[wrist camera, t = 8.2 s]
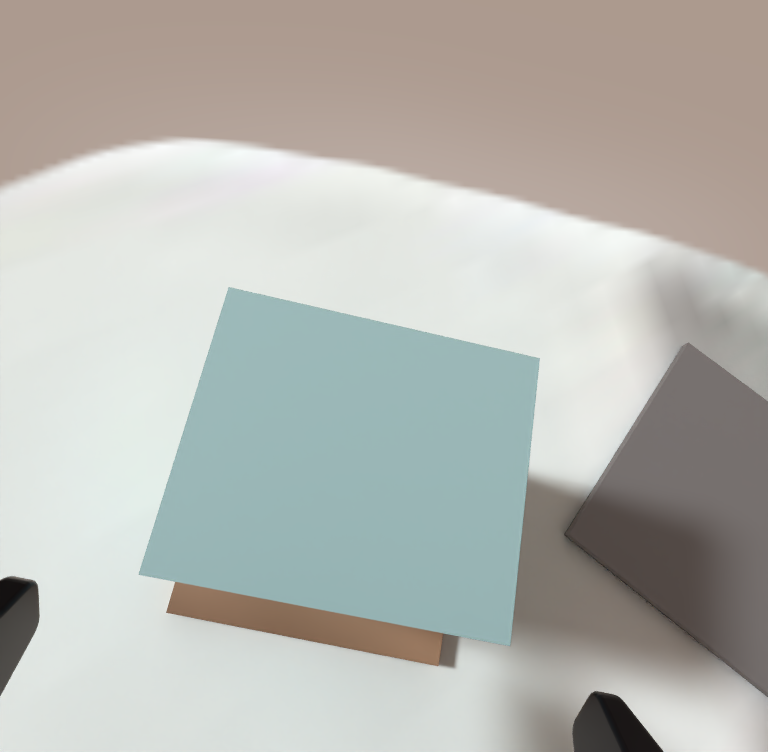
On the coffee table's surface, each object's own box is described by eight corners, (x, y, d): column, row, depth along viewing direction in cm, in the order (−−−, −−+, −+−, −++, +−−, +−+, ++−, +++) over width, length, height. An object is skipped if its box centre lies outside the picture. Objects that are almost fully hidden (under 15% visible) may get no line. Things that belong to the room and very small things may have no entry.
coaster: (434, 662, 19) (438, 666, 18) (170, 610, 18) (166, 612, 18) (471, 412, 22) (475, 408, 21) (245, 360, 21) (243, 355, 21)
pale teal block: (412, 601, 19) (509, 646, 10) (221, 564, 18) (138, 574, 9) (437, 444, 21) (539, 358, 12) (264, 407, 20) (228, 286, 11)
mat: (790, 714, 20) (799, 717, 19) (564, 534, 21) (569, 534, 20) (881, 493, 23) (891, 492, 23) (682, 346, 24) (688, 342, 24)
